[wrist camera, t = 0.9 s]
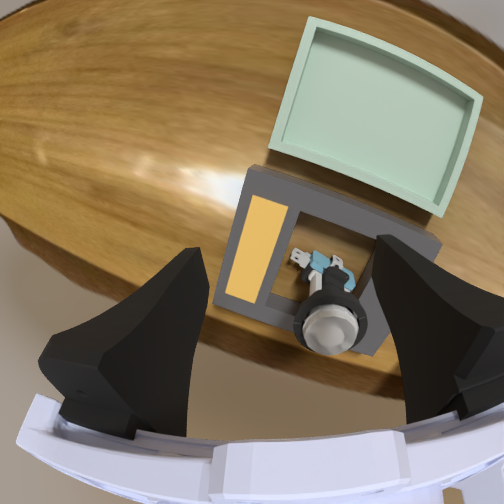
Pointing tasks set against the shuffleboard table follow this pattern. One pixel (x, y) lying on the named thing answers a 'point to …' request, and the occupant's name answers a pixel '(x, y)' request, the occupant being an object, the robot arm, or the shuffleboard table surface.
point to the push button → (328, 306)
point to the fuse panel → (276, 241)
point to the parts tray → (376, 115)
